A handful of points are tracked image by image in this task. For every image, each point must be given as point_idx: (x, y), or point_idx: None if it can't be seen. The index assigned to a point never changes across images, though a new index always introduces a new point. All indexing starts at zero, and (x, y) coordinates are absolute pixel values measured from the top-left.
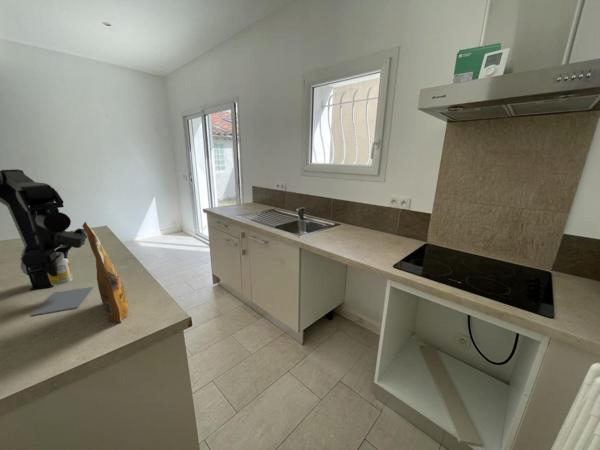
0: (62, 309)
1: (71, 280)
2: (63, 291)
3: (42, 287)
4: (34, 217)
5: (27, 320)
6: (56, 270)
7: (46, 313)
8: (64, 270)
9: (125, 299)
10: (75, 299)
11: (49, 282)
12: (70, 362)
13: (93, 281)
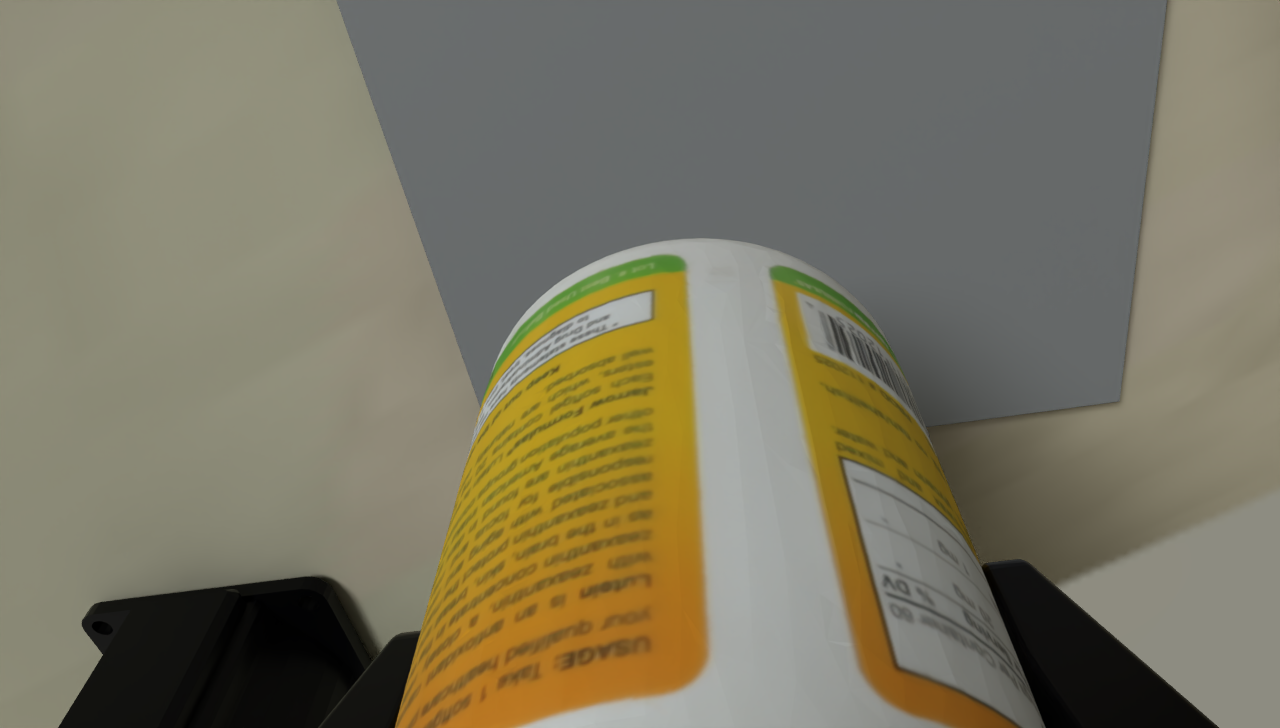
0: (1155, 37)
1: (702, 240)
2: (484, 377)
3: (361, 660)
4: None
5: (1216, 366)
6: (1109, 705)
7: (1129, 236)
8: (893, 521)
9: None
10: (824, 13)
11: (278, 657)
12: None
13: (76, 106)
